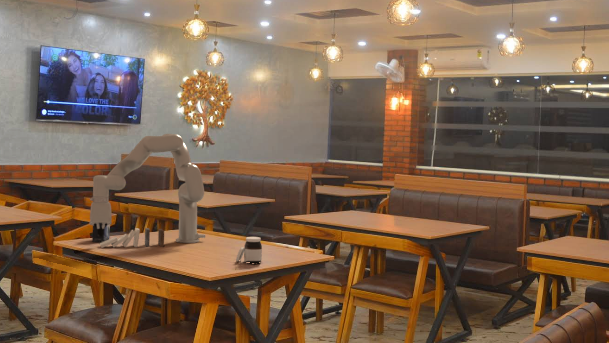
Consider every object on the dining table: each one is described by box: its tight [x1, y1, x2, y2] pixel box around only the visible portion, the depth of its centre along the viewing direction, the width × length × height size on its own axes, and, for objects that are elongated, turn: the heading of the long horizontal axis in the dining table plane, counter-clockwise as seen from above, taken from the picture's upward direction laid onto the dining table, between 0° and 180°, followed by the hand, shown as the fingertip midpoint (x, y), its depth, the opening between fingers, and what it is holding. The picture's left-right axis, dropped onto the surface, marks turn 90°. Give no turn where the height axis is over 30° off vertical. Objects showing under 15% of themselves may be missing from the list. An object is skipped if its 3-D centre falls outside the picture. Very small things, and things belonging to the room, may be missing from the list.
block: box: [157, 228, 165, 248], centre depth 370 cm, size 2×8×8 cm, turn 21°
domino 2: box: [110, 233, 129, 248], centre depth 363 cm, size 2×5×9 cm
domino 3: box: [121, 229, 136, 248], centre depth 364 cm, size 2×5×9 cm
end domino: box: [144, 227, 151, 248], centre depth 368 cm, size 2×5×9 cm, turn 21°
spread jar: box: [235, 236, 263, 263], centre depth 331 cm, size 12×11×12 cm
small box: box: [91, 223, 111, 243], centre depth 379 cm, size 11×6×10 cm, turn 179°
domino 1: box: [99, 236, 118, 249], centre depth 361 cm, size 2×5×9 cm
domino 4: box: [132, 227, 141, 248], centre depth 366 cm, size 2×5×9 cm, turn 22°
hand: (100, 236), depth 359 cm, fingers closed
